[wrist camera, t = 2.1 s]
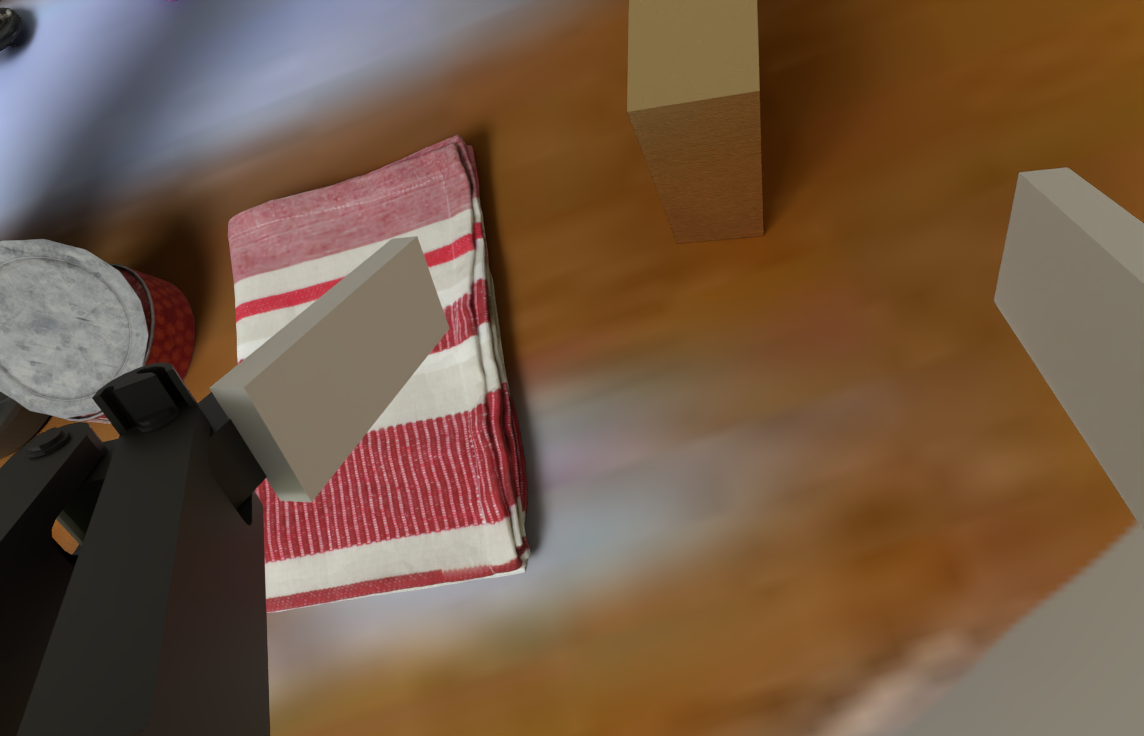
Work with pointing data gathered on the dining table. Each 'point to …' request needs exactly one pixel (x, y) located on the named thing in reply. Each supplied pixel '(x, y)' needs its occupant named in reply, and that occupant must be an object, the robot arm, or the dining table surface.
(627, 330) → the dining table surface
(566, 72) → the dining table surface
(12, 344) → the canned food
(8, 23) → the milk frother
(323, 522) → the dish towel
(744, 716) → the dining table surface
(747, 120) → the tan block
